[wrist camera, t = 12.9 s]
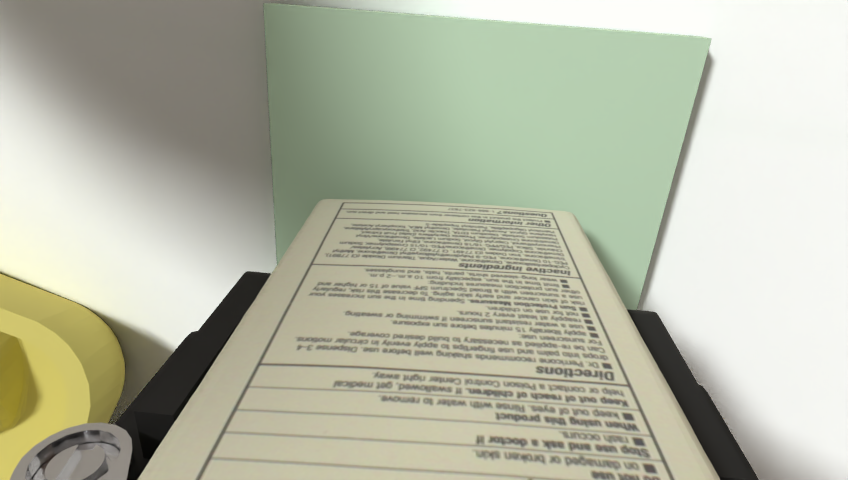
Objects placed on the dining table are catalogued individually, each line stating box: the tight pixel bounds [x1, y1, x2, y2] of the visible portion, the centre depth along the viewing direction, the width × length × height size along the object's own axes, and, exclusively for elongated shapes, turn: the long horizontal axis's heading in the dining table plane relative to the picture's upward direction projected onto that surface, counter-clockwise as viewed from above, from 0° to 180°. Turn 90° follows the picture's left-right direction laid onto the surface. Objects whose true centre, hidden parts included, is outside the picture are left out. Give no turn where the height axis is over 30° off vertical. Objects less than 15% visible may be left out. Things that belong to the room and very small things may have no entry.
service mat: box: [263, 3, 711, 310], centre depth 15 cm, size 10×12×1 cm
